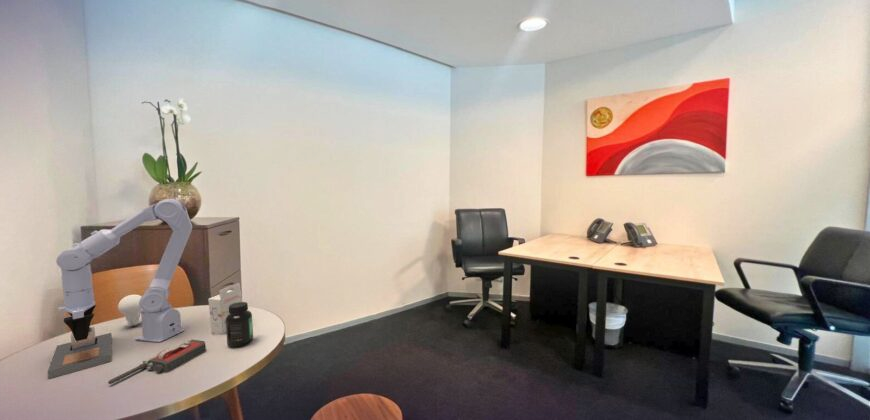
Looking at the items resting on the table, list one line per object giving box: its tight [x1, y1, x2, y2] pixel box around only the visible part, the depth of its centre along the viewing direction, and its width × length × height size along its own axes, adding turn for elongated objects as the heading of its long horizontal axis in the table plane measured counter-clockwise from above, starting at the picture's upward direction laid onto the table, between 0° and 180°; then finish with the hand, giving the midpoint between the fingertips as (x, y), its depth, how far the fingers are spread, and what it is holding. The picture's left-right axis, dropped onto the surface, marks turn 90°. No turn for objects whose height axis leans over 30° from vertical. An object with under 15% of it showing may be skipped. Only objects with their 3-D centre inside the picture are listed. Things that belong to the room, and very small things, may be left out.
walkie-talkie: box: [108, 339, 207, 385], centre depth 85 cm, size 9×4×20 cm
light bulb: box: [117, 294, 143, 328], centre depth 108 cm, size 7×7×11 cm
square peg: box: [70, 326, 96, 350], centre depth 92 cm, size 4×4×6 cm
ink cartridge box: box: [207, 282, 243, 335], centre depth 106 cm, size 9×5×15 cm, turn 168°
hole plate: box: [47, 332, 113, 380], centre depth 89 cm, size 18×11×2 cm, turn 45°
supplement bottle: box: [225, 301, 254, 349], centre depth 96 cm, size 7×7×12 cm
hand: (82, 335), depth 92 cm, fingers open, 7 cm apart
